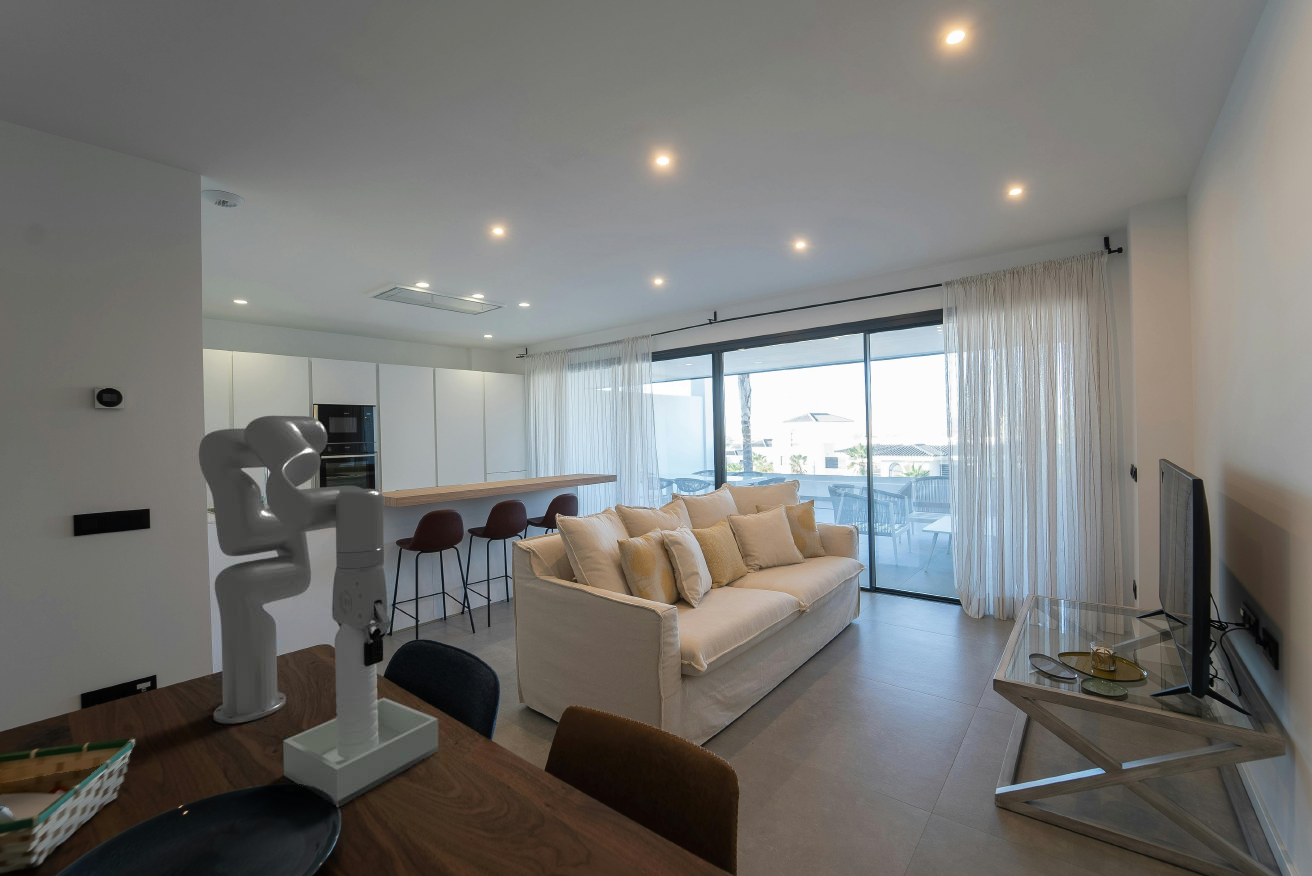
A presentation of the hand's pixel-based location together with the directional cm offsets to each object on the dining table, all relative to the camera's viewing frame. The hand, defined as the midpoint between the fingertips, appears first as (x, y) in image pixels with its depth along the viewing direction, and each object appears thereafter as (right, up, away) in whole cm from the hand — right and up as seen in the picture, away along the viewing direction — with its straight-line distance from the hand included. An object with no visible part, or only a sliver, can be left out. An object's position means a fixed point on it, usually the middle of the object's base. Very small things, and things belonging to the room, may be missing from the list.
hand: (362, 658), depth 102 cm
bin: (0, -19, 0) cm, 19 cm away
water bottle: (0, -16, 0) cm, 16 cm away
